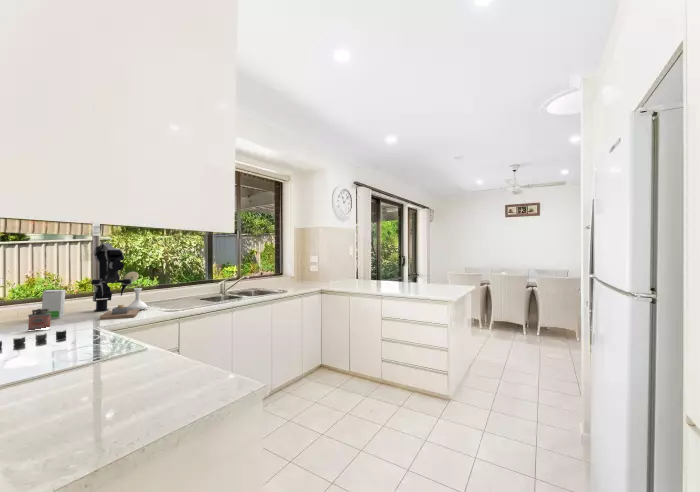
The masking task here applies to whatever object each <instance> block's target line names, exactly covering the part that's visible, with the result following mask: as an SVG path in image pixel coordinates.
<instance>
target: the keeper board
mask: <svg viewBox="0 0 700 492" xmlns="http://www.w3.org/2000/svg"><path fill="white" fill-rule="evenodd" d="M117 307H118V309H119V308H124V307H125V304H118V305H117ZM139 313H140V310H139V309H138V310H129V312H128V313H127V314H112V310H107V311H105V313H103V314H102V315H100V316H99V319H98V320H99V321H101V320H114V319H115V320H116V319H117V320H119V319H130V318H132V319H133V318H135V317H136V316H137V315H139Z"/></svg>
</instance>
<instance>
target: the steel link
mask: <svg viewBox="0 0 700 492" xmlns="http://www.w3.org/2000/svg"><path fill="white" fill-rule="evenodd" d="M111 311H112V314H127V313H128V312H129V307H127V306H124V308H119V309H118V306H117V307H116V306H115V307H113V308H112V310H111Z"/></svg>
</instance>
